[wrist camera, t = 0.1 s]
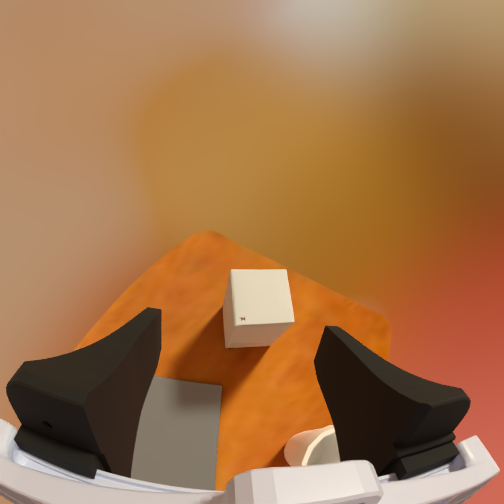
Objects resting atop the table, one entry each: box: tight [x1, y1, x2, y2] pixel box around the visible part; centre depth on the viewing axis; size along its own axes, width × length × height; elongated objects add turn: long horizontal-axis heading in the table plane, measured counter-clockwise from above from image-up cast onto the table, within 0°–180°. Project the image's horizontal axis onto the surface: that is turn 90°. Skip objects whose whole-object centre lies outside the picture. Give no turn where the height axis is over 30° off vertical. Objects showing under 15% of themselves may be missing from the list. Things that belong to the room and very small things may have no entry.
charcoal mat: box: [131, 376, 222, 491], centre depth 34 cm, size 18×14×1 cm
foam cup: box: [284, 425, 340, 466], centre depth 30 cm, size 10×9×13 cm
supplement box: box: [223, 269, 294, 348], centre depth 40 cm, size 7×7×13 cm
